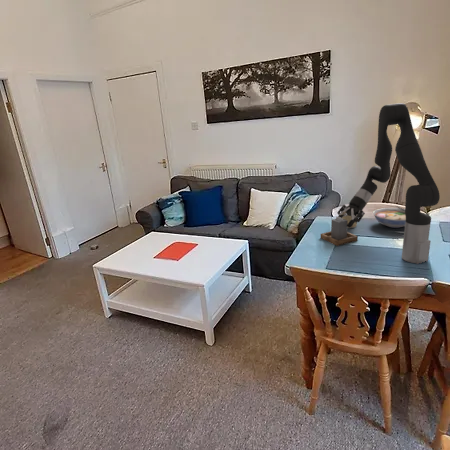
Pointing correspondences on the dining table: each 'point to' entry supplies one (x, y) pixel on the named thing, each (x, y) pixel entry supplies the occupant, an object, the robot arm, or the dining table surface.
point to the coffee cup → (349, 218)
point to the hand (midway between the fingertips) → (342, 224)
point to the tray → (349, 239)
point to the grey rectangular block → (339, 228)
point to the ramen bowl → (391, 217)
